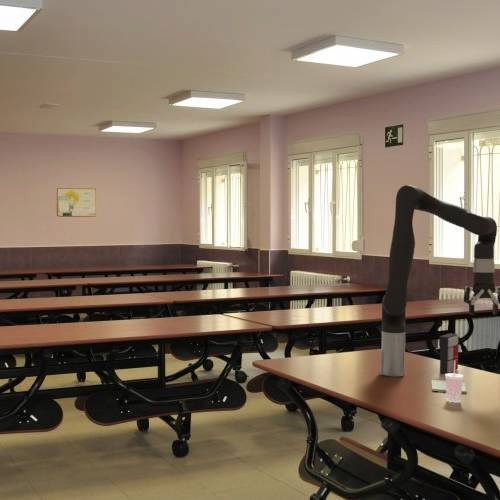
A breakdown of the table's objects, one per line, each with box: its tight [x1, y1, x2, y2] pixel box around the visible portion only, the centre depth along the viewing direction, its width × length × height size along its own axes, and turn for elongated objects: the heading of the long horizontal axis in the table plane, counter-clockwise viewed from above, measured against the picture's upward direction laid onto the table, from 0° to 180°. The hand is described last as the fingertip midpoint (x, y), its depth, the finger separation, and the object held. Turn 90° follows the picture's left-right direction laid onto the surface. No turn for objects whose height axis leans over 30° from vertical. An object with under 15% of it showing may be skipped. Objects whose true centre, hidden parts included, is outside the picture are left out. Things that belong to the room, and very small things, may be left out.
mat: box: [431, 378, 467, 395], centre depth 270 cm, size 12×18×1 cm, turn 167°
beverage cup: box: [444, 361, 465, 404], centre depth 249 cm, size 6×6×14 cm
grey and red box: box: [438, 332, 459, 375], centre depth 296 cm, size 11×4×15 cm, turn 143°
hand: (483, 314), depth 269 cm, fingers open, 8 cm apart
